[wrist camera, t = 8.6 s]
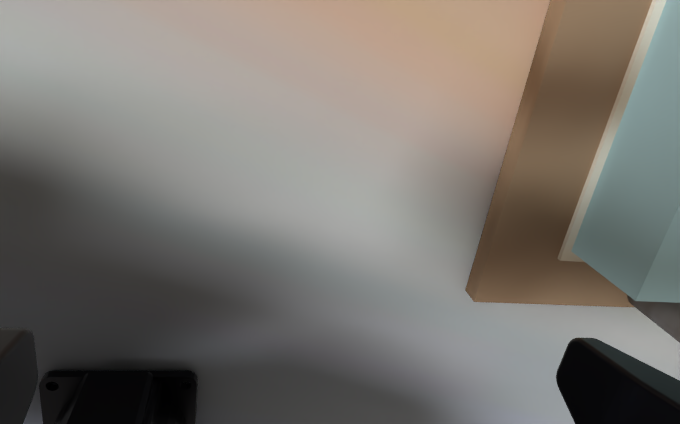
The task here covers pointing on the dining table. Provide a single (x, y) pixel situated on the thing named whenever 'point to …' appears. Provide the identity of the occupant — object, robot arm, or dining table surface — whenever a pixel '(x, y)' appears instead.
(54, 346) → the dining table surface
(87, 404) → the robot arm
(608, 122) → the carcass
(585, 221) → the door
